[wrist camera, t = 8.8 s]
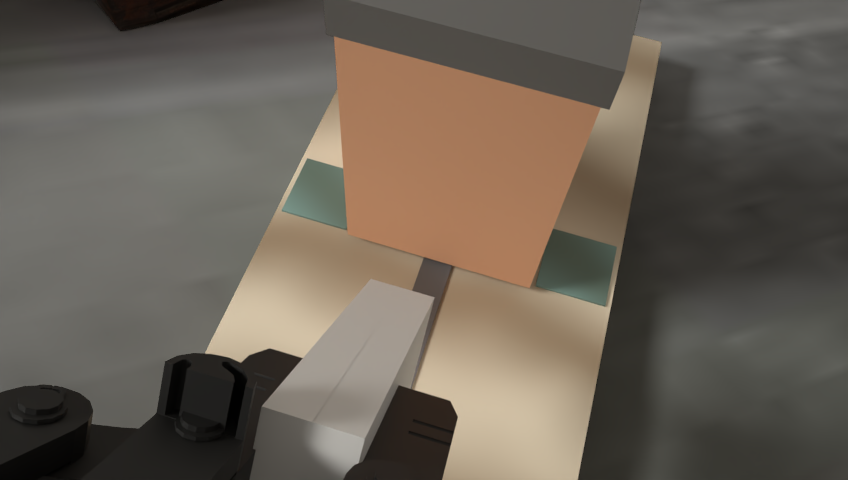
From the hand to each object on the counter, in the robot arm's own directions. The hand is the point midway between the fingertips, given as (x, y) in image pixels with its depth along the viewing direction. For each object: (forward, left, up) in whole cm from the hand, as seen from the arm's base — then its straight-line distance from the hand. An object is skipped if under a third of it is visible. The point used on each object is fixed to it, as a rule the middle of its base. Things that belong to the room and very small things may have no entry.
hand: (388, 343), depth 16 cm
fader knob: (-4, +7, -6) cm, 10 cm away
